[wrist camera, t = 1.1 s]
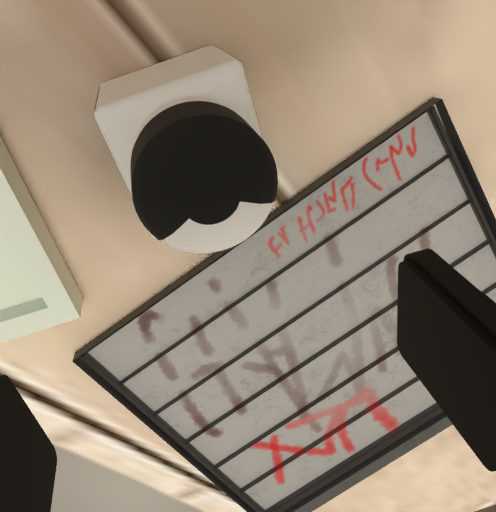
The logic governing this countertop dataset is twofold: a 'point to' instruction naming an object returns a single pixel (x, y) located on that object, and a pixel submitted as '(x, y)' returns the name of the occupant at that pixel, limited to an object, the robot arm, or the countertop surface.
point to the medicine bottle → (190, 150)
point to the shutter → (306, 327)
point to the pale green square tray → (29, 263)
